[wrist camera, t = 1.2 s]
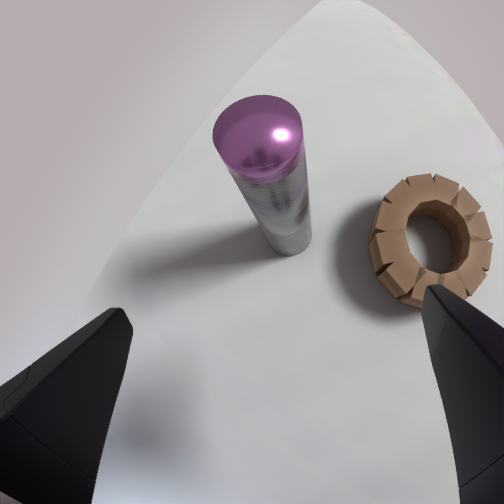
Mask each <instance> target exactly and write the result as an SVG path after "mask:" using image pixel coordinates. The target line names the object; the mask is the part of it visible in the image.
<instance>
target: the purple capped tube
mask: <svg viewBox="0 0 504 504" xmlns="http://www.w3.org/2000/svg"><path fill="white" fill-rule="evenodd" d="M213 142H214V145H215V147H216V149H217V151H218V153H219V154H220V156H221V158H222V160H223V161H224V163H225V165H226V167H227V168H228V170H229V172H230V174H231V175H232V177H233V179H234V181H235V182H236V184H237V186H238V188H239V189H240V191H241V193H242V195H243V196H244V198H245V200H246V202H247V203H248V205H249V207H250V209H251V210H252V212H253V214H254V216H255V218H256V219H257V221H258V223H259V225H260V226H261V228H262V230H263V232H264V234H265V235H266V237H267V239H268V241H269V243H270V244H271V246H272V248H273V249H274V250H275V251H276V252H278V253H280V254H282V255H285V256H294V255H297V254H300V253H301V252H303V251H304V250H305V249H306V248H307V247H308V245H309V244H310V241H311V236H312V233H311V217H310V203H309V190H308V178H307V167H306V156H305V146H304V137H303V128H302V121H301V117H300V115H299V113H298V111H297V109H296V108H295V107H294V106H293V105H292V104H290V103H289V102H287V101H286V100H284V99H282V98H279V97H275V96H270V95H256V96H250V97H247V98H244V99H241V100H239V101H237V102H235V103H233V104H232V105H230V106H229V107H228V108H226V109H225V110H224V111H223V112H222V113H221V115H220V116H219V117H218V119H217V121H216V123H215V125H214V128H213Z"/></svg>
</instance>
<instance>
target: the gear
mask: <svg viewBox="0 0 504 504" xmlns="http://www.w3.org/2000/svg"><path fill="white" fill-rule="evenodd" d="M458 189H459V183H457V182H454V181H452V180H449V179H447V178H445V177H442V176H440V175H437V174H435V176H434V177H433V178H432V175H431V173H430V174H423V175H416V176H410V177H407V178H406V180H405V181H404V180H403V179H402V180H401V181H400V182H399V183H398V184H397V185H396V186H395V187H394V188H393V189H392V190H391V191H390V192H389V193H388V194H387V195H385V197H384V199H383V201H382V202H381V204H380V206H379V209H378V211H377V213H376V215H375V217H374V221H373V225H372V229H371V232H370V236H369V240H368V241H371V242H370V244H369V245H368V247H369V251H370V256H371V260H372V264H373V269H374V273H375V272H380V271H383V272H382V273H381V274H380V275H379V276H378V277H377V278H378V279H379V281H380V282H381V283H382V284H383V285H384V286H385V288H386V289H387V290H388V291H389V292H390V293H391V295H392V296H393V297H394V298H396V297H399V296H400V299H399V301H400V302H403V303H406V304H409V305H412V306H415V307H418V308H420V309H421V307H422V302H423V297H424V292H425V288H426V286H428V285H431V284H441V285H443V286H445V287H446V288H448V289H449V290H451V291H452V292H453V293H455V294H456V295H458V296H459V297H461V298H462V299H464V300H465V299H467V297H468V296H472V294H473V293H474V292H475V291H476V289H477V288H478V287H479V285H480V284H481V283H482V281H483V280H484V279H485V277H486V276H487V274H486V273H485V272H486V271H488V270H489V267H490V260H491V253H492V244H493V243H491V242H489V241H488V240H489V239H491V238H492V236H491V232H490V229H489V226H488V223H487V220H486V216H485V214H484V211H483V212H478V213H477V211H478V210H479V209H480V207H481V206H480V205H479V204H478V202H477V201H476V200H475V199H474V198H473V197H472V196H471V195H470V193H469V192H468V191H467V190H466V189H465V188H464V187H462V188H461V189H460V191H459V192H458ZM419 215H426V216H429V217H431V218H434V219H436V220H439V221H440V223H441V224H442V225H443V226H444V227H445V228H446V229H447V231H448V232H449V233H450V236H451V240H452V243H453V247H454V253H453V258H452V263H451V266H450V268H449V269H448V270H447V271H446V272H445V273H444V274H438V273H435V272H432V271H430V270H427V269H424V268H423V267H422V266H421V265H420V263H419V262H418V261H417V260H416V259H415V258H414V257H413V255H412V254H411V253H410V250H409V246H408V242H407V239H406V235H405V230H406V226H407V221H408V218H409V217H414V216H419Z"/></svg>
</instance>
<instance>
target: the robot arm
mask: <svg viewBox="0 0 504 504" xmlns="http://www.w3.org/2000/svg"><path fill="white" fill-rule="evenodd" d="M421 315H422V320H423V324H424V329H425V333H426V338H427V343H428V348H429V353H430V358H431V362H432V366H433V370H434V373H435V376H436V380H437V383H438V387H439V391H440V395H441V398H442V402H443V406H444V410H445V415H446V419H447V423H448V428H449V433H450V438H451V443H452V448H453V453H454V459H455V465H456V472H457V479H458V487H459V488H460V489H459V497H460V504H504V328H503V327H502V326H500V325H499V324H497V323H496V322H495V321H493V320H492V319H491V318H489V317H488V316H486V315H485V314H484V313H482V312H481V311H479V310H478V309H477V308H475V307H474V306H472V305H471V304H470V303H468V302H467V301H465V300H464V299H462V298H461V297H459V296H458V295H456V294H455V293H453V292H452V291H451V290H449V289H448V288H446V287H445V286H443V285H441V284H431V285H428V286H426V288H425V292H424V297H423V302H422V307H421ZM132 336H133V327H132V325H131V323H130V321H129V319H128V317H127V315H126V313H125V311H124V310H123V309H122V308H109V309H108V310H106V311H105V312H103V313H102V314H101V315H99V316H98V317H96V318H95V319H93V320H92V321H91V322H89V323H88V324H86V325H85V326H84V327H82V328H81V329H79V330H78V331H76V332H75V333H74V334H72V335H71V336H69V337H68V338H67V339H65V340H64V341H63V342H61V343H60V344H58V345H57V346H56V347H54V348H53V349H51V350H50V351H49V352H47V353H46V354H45V355H43V356H42V357H40V358H39V359H38V360H36V361H35V362H34V363H32V365H30V366H28V367H27V368H26V369H24V370H23V371H21V372H20V373H19V374H17V375H16V376H15V377H13V378H12V379H10V380H9V381H7V382H6V383H4V384H3V385H2V386H0V504H91V503H92V498H93V493H94V488H95V483H96V478H97V473H98V469H99V464H100V460H101V456H102V452H103V448H104V444H105V440H106V436H107V432H108V428H109V425H110V421H111V417H112V414H113V410H114V407H115V403H116V400H117V396H118V393H119V390H120V386H121V383H122V380H123V376H124V373H125V368H126V364H127V359H128V354H129V350H130V345H131V341H132Z"/></svg>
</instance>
